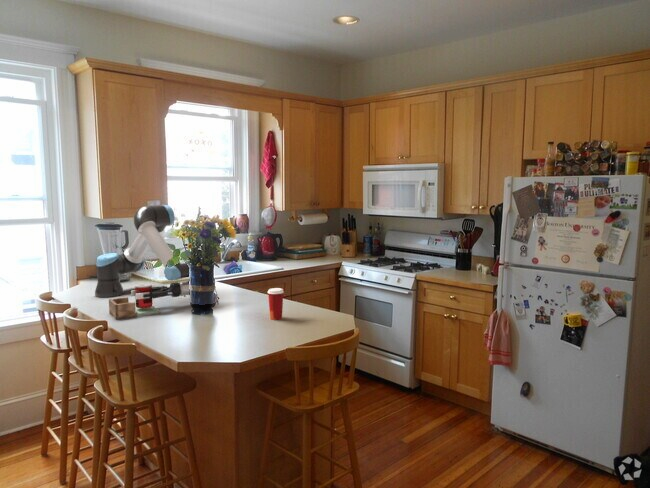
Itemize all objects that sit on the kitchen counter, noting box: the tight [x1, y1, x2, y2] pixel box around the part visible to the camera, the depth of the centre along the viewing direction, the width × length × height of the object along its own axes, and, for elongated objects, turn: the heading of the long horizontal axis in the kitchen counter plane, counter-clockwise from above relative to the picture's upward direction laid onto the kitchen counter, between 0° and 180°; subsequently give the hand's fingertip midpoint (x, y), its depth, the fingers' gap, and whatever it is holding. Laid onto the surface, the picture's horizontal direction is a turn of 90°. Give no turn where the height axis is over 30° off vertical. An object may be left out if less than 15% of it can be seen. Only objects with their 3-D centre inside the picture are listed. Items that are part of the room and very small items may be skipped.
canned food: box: [134, 282, 153, 308], centre depth 247 cm, size 8×8×11 cm
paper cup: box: [267, 287, 285, 321], centre depth 235 cm, size 8×8×14 cm
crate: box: [108, 296, 161, 320], centre depth 245 cm, size 20×14×7 cm
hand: (133, 295), depth 245 cm, fingers closed on canned food, 8 cm apart
